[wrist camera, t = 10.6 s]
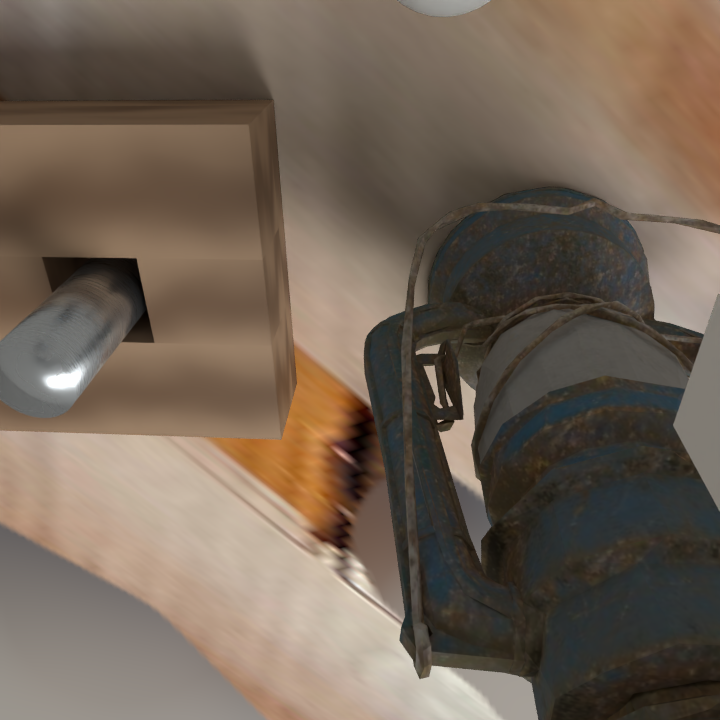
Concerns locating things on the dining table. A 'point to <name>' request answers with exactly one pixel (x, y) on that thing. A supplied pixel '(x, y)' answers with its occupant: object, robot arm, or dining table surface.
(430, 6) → the lightbulb
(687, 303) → the dining table surface
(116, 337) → the pin
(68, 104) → the walnut block
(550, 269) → the lantern
